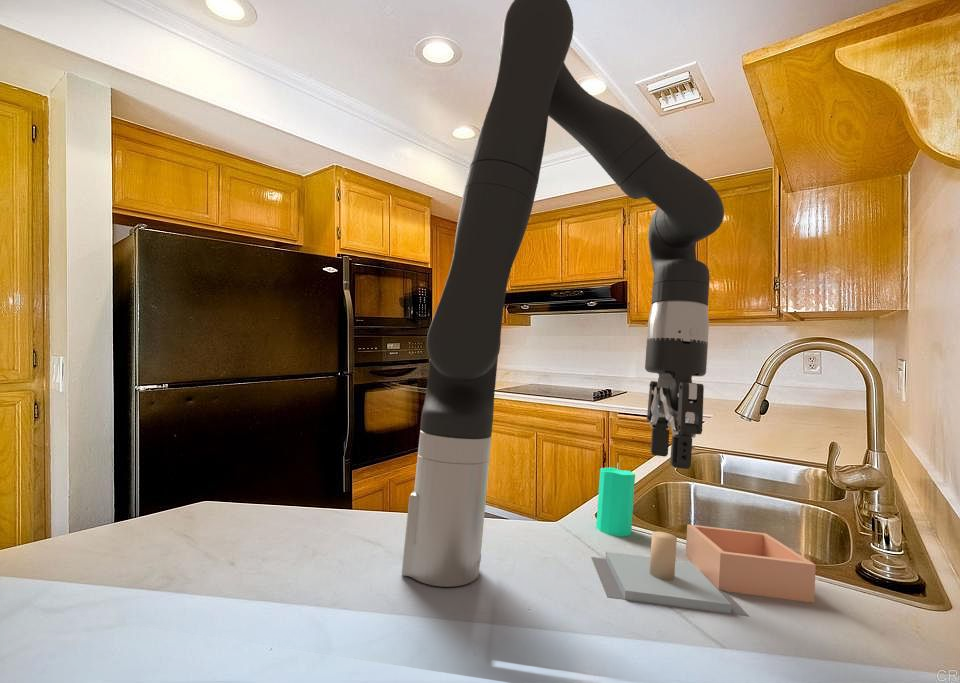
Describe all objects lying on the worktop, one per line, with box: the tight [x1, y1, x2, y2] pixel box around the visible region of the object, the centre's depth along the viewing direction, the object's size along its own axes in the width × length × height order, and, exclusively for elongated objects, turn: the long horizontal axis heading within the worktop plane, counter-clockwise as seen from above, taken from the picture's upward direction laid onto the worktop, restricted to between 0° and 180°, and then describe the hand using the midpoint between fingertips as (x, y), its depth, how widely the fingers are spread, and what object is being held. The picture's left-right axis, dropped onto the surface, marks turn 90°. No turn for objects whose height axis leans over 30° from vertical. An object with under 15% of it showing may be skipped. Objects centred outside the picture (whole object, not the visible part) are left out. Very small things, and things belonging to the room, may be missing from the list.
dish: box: [685, 524, 817, 604], centre depth 64 cm, size 12×12×5 cm
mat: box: [591, 556, 750, 617], centre depth 59 cm, size 16×12×1 cm
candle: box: [595, 462, 636, 537], centre depth 79 cm, size 6×6×12 cm
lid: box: [604, 531, 732, 614], centre depth 59 cm, size 12×12×6 cm
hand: (668, 461), depth 60 cm, fingers open, 8 cm apart
